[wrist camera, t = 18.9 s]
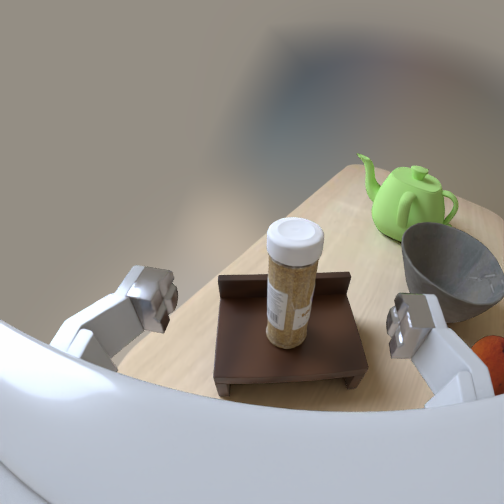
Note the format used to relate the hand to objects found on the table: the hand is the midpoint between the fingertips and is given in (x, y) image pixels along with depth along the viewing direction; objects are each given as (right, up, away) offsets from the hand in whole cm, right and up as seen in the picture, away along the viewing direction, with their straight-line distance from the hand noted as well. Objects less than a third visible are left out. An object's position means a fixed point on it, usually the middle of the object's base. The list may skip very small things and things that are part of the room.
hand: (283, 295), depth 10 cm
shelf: (+3, -11, +24) cm, 27 cm away
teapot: (+31, +7, +47) cm, 57 cm away
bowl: (+28, -7, +28) cm, 41 cm away
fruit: (+30, -17, +16) cm, 38 cm away
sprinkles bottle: (+3, -8, +21) cm, 22 cm away
